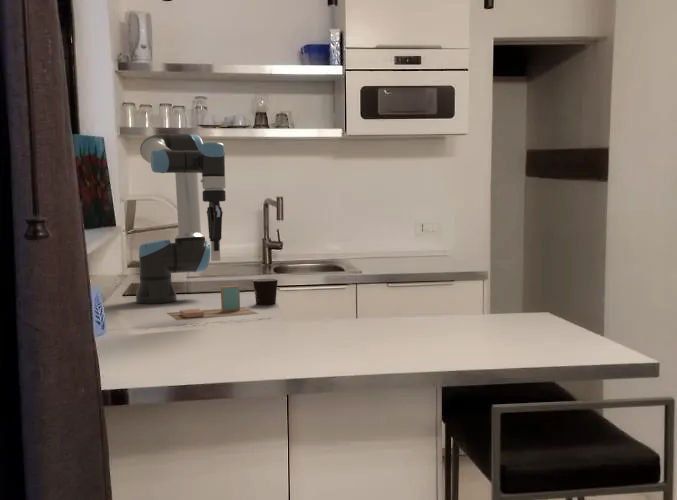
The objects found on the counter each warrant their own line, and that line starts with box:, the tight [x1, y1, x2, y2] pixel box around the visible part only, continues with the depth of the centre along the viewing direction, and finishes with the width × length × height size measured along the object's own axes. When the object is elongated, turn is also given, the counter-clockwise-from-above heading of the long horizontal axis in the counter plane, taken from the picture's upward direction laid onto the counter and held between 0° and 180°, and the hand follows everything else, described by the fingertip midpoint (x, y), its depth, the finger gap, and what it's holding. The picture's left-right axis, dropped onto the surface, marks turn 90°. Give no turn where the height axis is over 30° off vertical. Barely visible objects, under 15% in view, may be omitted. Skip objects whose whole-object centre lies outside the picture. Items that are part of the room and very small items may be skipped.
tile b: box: [220, 285, 241, 311], centre depth 235 cm, size 2×6×8 cm, turn 114°
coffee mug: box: [252, 278, 278, 306], centre depth 251 cm, size 12×9×10 cm
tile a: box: [179, 308, 204, 318], centre depth 225 cm, size 2×6×8 cm
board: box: [166, 306, 259, 325], centre depth 230 cm, size 17×26×2 cm, turn 114°
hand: (215, 260), depth 237 cm, fingers closed
